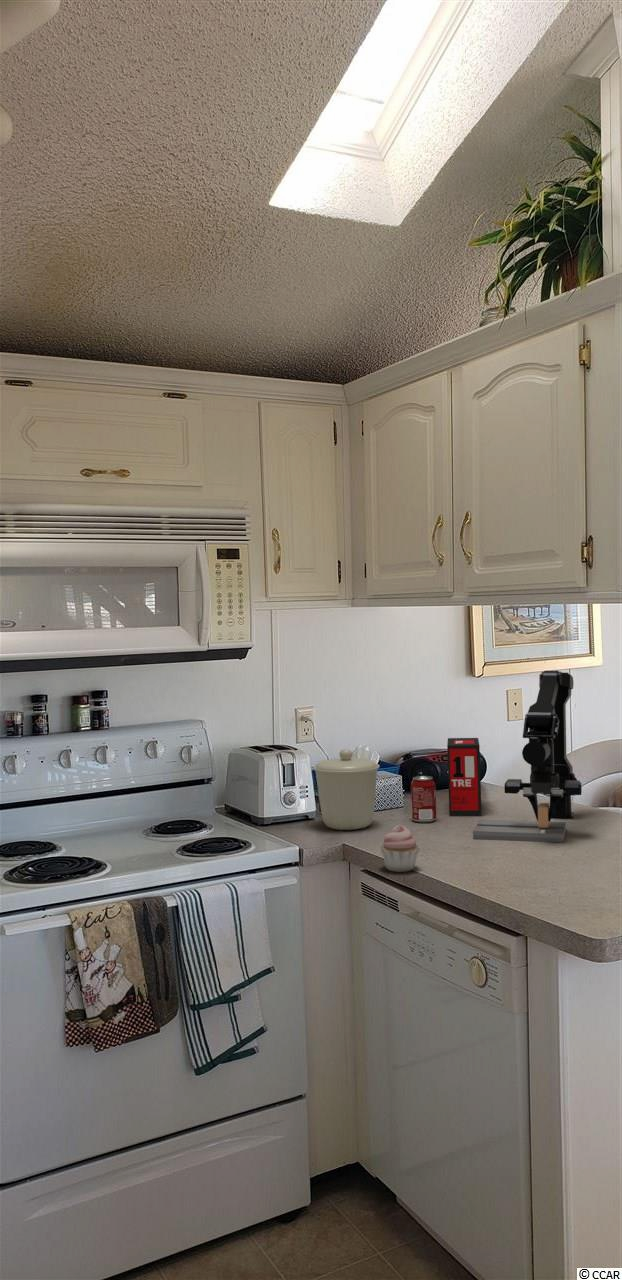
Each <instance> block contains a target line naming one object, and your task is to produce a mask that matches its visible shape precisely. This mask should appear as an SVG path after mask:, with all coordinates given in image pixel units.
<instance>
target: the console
mask: <svg viewBox="0 0 622 1280" xmlns="http://www.w3.org/2000/svg"><path fill="white" fill-rule="evenodd" d="M549 822H550V823H549V826H548V828H542V827H538V821H537V820H536V821H535V820H516V819H514V820H511V819H482V818H480V819H479V820H478V822H477V825H475V827H474V828H473V831H472V839H473V840H494V841H496V840H497V841H515V842H516V841H520V842H542V843H543V842H545V843H546V842H547V843H549V842H550V843H565V837H566V831H567V823H566V821H549Z"/></svg>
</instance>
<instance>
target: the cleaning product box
mask: <svg viewBox="0 0 622 1280" xmlns="http://www.w3.org/2000/svg"><path fill="white" fill-rule="evenodd" d="M446 746H447V749H446V750H447V776H448V778H447V779H448V807H449V809H448V810H449V811H448V812H449V813H448V814H449V815H448V816H449V817H482V792H481V791H482V790H481V788H482V787H481V783H482V782H481V755H480V754H481V753H480V750H481V749H480V748H481V747H480V741H479V737H451V738H450V737H447V745H446Z"/></svg>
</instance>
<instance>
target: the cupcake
mask: <svg viewBox="0 0 622 1280" xmlns="http://www.w3.org/2000/svg"><path fill="white" fill-rule="evenodd" d="M378 848H379V850H380V853H381V855H382V856H383V862H384V866H385V868H386V870H387V871H390V872H394V873H395V872H396V873H405V872H409V871H410V872H411V871H413V870H414V868H415V866H416V862H417V858H418V855H419V852H420V851H421V849H422V848H421V847H420V845H418V844H417V841H416V839H415V837H414V836H413V834H412V833H411V831H410V829H408V828H407V827H405V826H404V825H401V823H400V824H398V825H396V826H394V827H393V828H392V830H390V832H387V833H386V834H385V835H384V837H383V842H382V845H380V846H378Z"/></svg>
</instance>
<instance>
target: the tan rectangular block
mask: <svg viewBox="0 0 622 1280" xmlns="http://www.w3.org/2000/svg"><path fill="white" fill-rule="evenodd" d="M549 806H550V802H538V827H542V828H548V826H549V823H550V822H551V821H549V818H548V815H549Z"/></svg>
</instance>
